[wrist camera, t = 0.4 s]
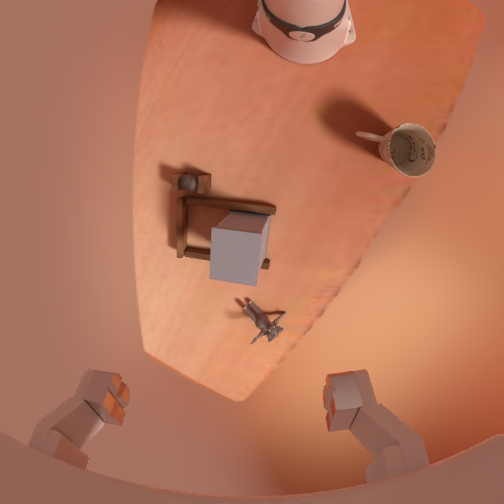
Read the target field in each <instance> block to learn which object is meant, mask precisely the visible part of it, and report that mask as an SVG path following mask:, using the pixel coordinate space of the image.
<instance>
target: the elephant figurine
mask: <svg viewBox="0 0 504 504" xmlns="http://www.w3.org/2000/svg"><path fill="white" fill-rule="evenodd" d="M248 305H249V306H250V307H251V308H252V309H253V310H254V311H255V312H256V313H257V315H258V316H259V318H257V317H256V316H255V315H254V314H253V313H252V312H251V311H250V310H249V309H248V307H247V306H245V307H244V308H243V310H244V311H245V312H246V313H247V314H248V315H249V316H250V317H251V319H252V320H253V321H254V322H255V325H256V326H257V328H259V329H261V332H260V333H259V335H258V336H257V337H256V338H254V339H253V341H252V343H254V342H255V341H256V340H257V339H258V338H260V337H262V336H264V335H267V337H268V339H269V341H268V342H270V341H272V340H273V339H274V338H276V337H277V336H278V335H279V333H281V332H282V331H283V329H284V328H281V327H279V326H276V325H277V323H278V322H279V320H280V319H281V318H282V317H283V316H284V315H285V313H286V312H285V313H284V314H281V315H280V316H279V317H278V318H277V319H275V320H274V321H273V322H270V321H269V318H268V317H267V316H266V315H264V314H263V313H262V312H261V311H260V310H259V309H258V308H257V307H256V305H255V304H254V303H253V302H252V301H250V302H249V304H248ZM252 343H251V344H252Z"/></svg>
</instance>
